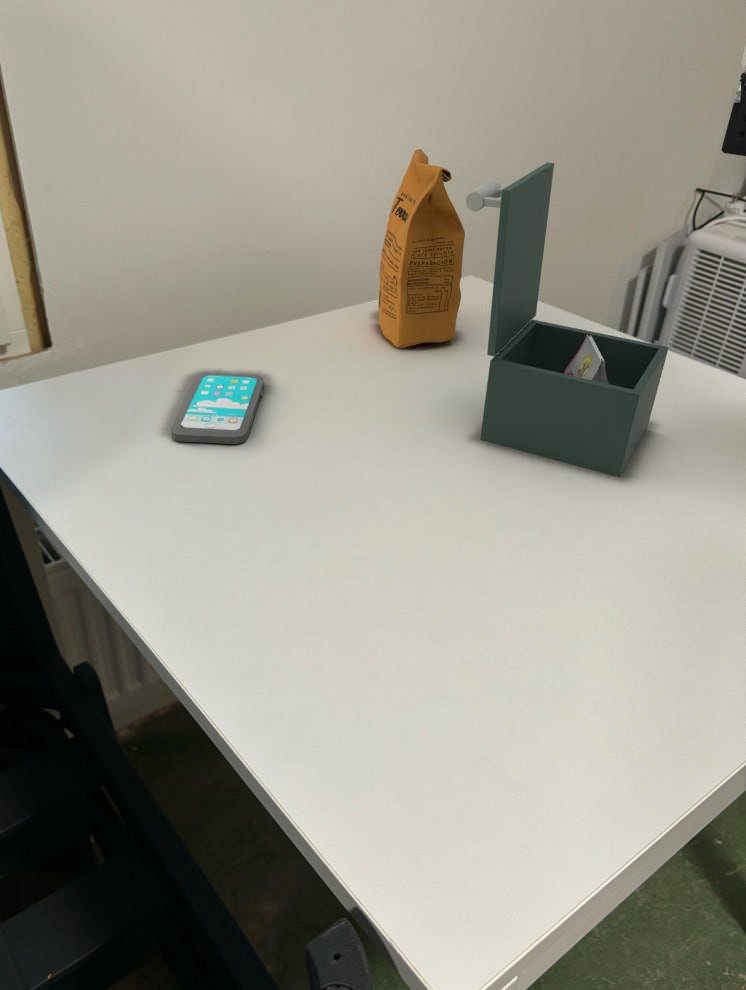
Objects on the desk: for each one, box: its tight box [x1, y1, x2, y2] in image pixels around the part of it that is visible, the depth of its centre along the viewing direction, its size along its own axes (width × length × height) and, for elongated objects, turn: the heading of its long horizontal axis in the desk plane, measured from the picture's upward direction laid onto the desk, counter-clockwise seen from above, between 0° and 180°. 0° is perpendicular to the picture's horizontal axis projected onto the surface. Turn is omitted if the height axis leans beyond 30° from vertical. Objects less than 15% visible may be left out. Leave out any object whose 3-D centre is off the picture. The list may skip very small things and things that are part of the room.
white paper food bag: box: [564, 335, 609, 384], centre depth 85 cm, size 4×7×10 cm, turn 178°
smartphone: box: [170, 372, 265, 445], centre depth 93 cm, size 9×1×15 cm
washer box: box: [479, 318, 669, 478], centre depth 86 cm, size 15×13×10 cm
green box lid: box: [465, 162, 555, 357], centre depth 82 cm, size 15×13×6 cm
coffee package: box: [377, 148, 466, 349], centre depth 105 cm, size 10×12×22 cm
